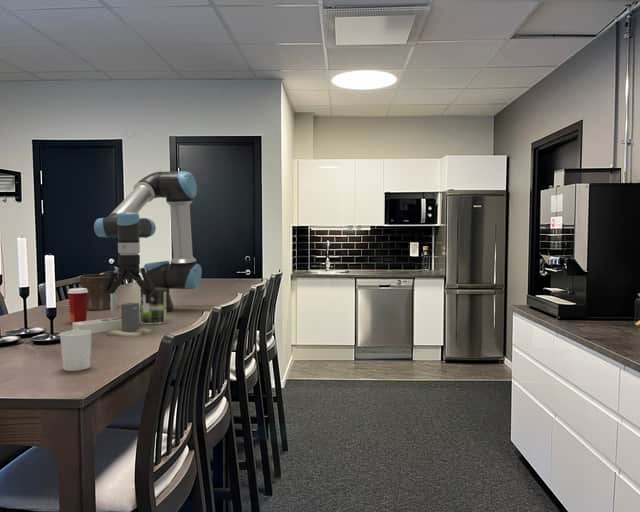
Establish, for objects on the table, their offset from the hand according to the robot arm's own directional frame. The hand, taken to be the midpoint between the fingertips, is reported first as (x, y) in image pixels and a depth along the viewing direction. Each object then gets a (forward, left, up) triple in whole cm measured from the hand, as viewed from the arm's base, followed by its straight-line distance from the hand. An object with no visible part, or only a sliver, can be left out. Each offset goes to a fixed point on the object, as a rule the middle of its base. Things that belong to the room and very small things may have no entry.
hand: (129, 311), depth 190 cm
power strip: (-1, -13, -8) cm, 16 cm away
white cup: (+46, +14, -8) cm, 49 cm away
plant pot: (-46, -48, -8) cm, 67 cm away
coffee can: (-21, -3, -8) cm, 23 cm away
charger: (0, 0, -7) cm, 7 cm away
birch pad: (0, 0, -8) cm, 8 cm away
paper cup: (-12, -32, -8) cm, 35 cm away
